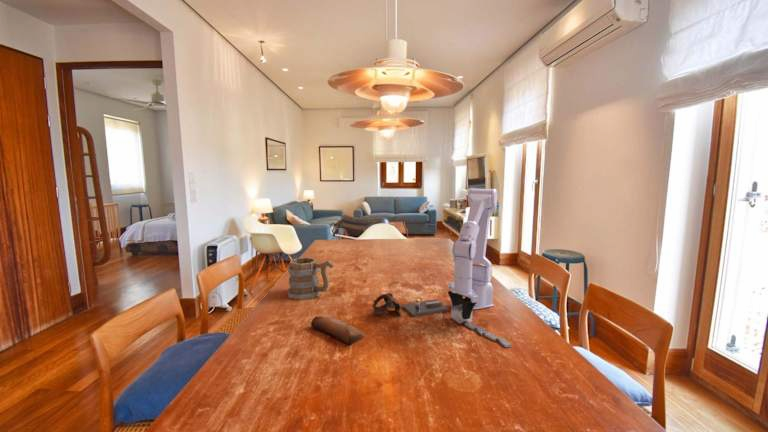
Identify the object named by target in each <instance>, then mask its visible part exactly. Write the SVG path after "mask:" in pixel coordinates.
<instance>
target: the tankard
mask: <svg viewBox="0 0 768 432" xmlns="http://www.w3.org/2000/svg"><path fill="white" fill-rule="evenodd" d="M334 266H335V264H334V263H333V262H331V261H330V260H327V261H325V262H322V263H319V262H318V261H317V260H316V258H313V257H296V258H292V259H290V261H289V266H288V268H287V269H288V271H287V272H288V274H289V278H288V285H289V287H290V288H288V289H287V290H286V292H287V296H288V298H289V299H293V300H299V301H301V300H309V299H314V298H316V297H317V296H319V295H320V294H321V293H323V292H324V293H326V292H327V290H328V288H329V286H330V279H329V276H328V274H327V267H329V268H330V269H332V268H333V267H334ZM319 269H320V275H321V277H322V281H323V285H322V286H321V285H319V283H320V282H319V281H320V280H319V277H318V273H319Z"/></svg>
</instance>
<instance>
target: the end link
mask: <svg viewBox="0 0 768 432" xmlns="http://www.w3.org/2000/svg"><path fill="white" fill-rule="evenodd" d="M450 309H451V311H450V318H451V319H452V320H454V321H455V322H457V323H458V324H465V323H467V322H471V323H472V322H473V310H472V312H471V315H470V319H463V311H462V305H456V306H453V305H451V307H450Z"/></svg>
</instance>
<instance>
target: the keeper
mask: <svg viewBox="0 0 768 432" xmlns="http://www.w3.org/2000/svg"><path fill="white" fill-rule="evenodd" d="M401 308H403V310H405V311H406V312H407V313H408V314H409V315H410V316H411V317H420V316H426V315H431V314H438V313H444V312H449V307H447V306H445V305H444V304H443V302H442V301H441V300H437V299H430V300H424V301H422V300H420V298H415V302H409V303H402V306H401Z"/></svg>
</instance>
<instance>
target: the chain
mask: <svg viewBox="0 0 768 432" xmlns="http://www.w3.org/2000/svg"><path fill="white" fill-rule="evenodd" d="M464 326H465V327H467V328H469V329H471V330H472V331H475V332H477V333H478V334H479V335H480V336H483V337H485V338H487V339H489V340H490V341H493V342H498V344H500V345H501V346H503V347H504V348H511V347H512V343H511V342H510V341H508V340H507V339H505V338H504V337H500V336H497V335H495V334H494V333H492V332H490V331H486V329H484V328H483V327H482V326H478V325H476V324H474V323H473V322H472V321H471V322H466V323H464Z"/></svg>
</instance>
